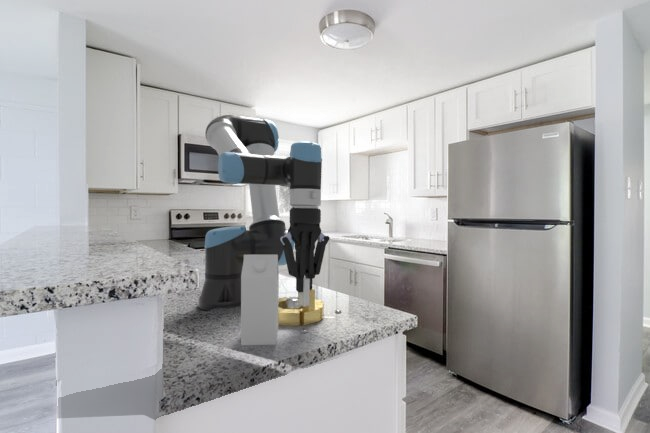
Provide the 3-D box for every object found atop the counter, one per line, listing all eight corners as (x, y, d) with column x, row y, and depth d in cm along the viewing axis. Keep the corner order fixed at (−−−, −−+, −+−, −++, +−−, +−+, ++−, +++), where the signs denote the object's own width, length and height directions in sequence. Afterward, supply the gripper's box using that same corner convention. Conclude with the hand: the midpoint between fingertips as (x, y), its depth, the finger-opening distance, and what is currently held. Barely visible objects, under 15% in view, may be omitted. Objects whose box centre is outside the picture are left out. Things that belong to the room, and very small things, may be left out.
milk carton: (245, 338, 76) (246, 252, 76) (278, 337, 76) (278, 252, 76) (240, 351, 69) (241, 257, 68) (276, 350, 69) (276, 256, 69)
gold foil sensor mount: (286, 330, 78) (286, 294, 77) (253, 314, 89) (253, 284, 89) (335, 316, 87) (335, 285, 87) (299, 304, 99) (300, 276, 99)
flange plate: (237, 325, 84) (237, 302, 84) (284, 305, 102) (284, 287, 102) (306, 340, 75) (306, 315, 75) (345, 316, 92) (345, 295, 92)
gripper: (287, 206, 76) (286, 312, 76) (336, 207, 83) (334, 305, 83) (274, 207, 82) (273, 304, 82) (320, 208, 89) (318, 298, 89)
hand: (304, 304), depth 83 cm, fingers closed
